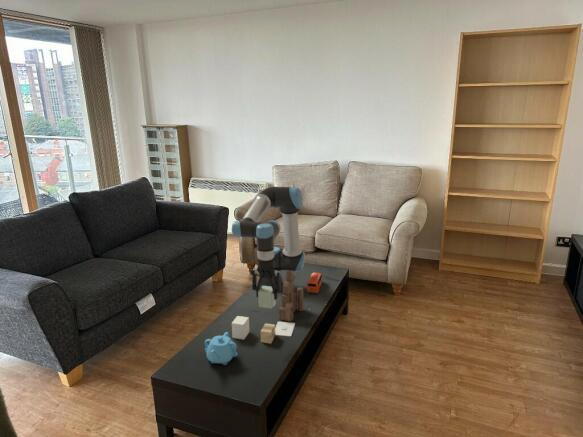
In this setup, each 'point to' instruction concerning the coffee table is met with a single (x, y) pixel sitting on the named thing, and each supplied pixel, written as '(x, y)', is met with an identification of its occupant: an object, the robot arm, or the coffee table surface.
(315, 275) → the toy bus
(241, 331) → the cream block
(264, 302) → the sage block
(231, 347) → the teapot
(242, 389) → the coffee table surface
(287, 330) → the page
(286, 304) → the wooden toy
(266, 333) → the maple base block
